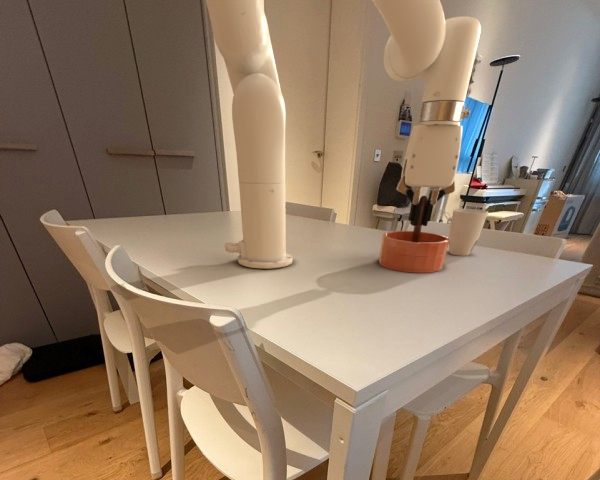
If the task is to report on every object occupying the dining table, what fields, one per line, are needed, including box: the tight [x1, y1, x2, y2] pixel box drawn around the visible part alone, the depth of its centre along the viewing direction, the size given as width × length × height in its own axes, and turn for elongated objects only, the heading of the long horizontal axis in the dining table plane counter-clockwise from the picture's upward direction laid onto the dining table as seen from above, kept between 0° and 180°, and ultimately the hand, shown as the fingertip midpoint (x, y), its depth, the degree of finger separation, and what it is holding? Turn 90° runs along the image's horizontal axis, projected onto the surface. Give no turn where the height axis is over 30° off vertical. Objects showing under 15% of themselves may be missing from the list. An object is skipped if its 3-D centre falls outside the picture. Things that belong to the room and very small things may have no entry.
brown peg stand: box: [411, 195, 428, 242], centre depth 74 cm, size 5×5×13 cm
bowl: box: [378, 230, 449, 274], centre depth 77 cm, size 14×14×6 cm
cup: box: [448, 208, 489, 257], centre depth 86 cm, size 8×8×10 cm
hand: (418, 224), depth 74 cm, fingers closed on brown peg stand
